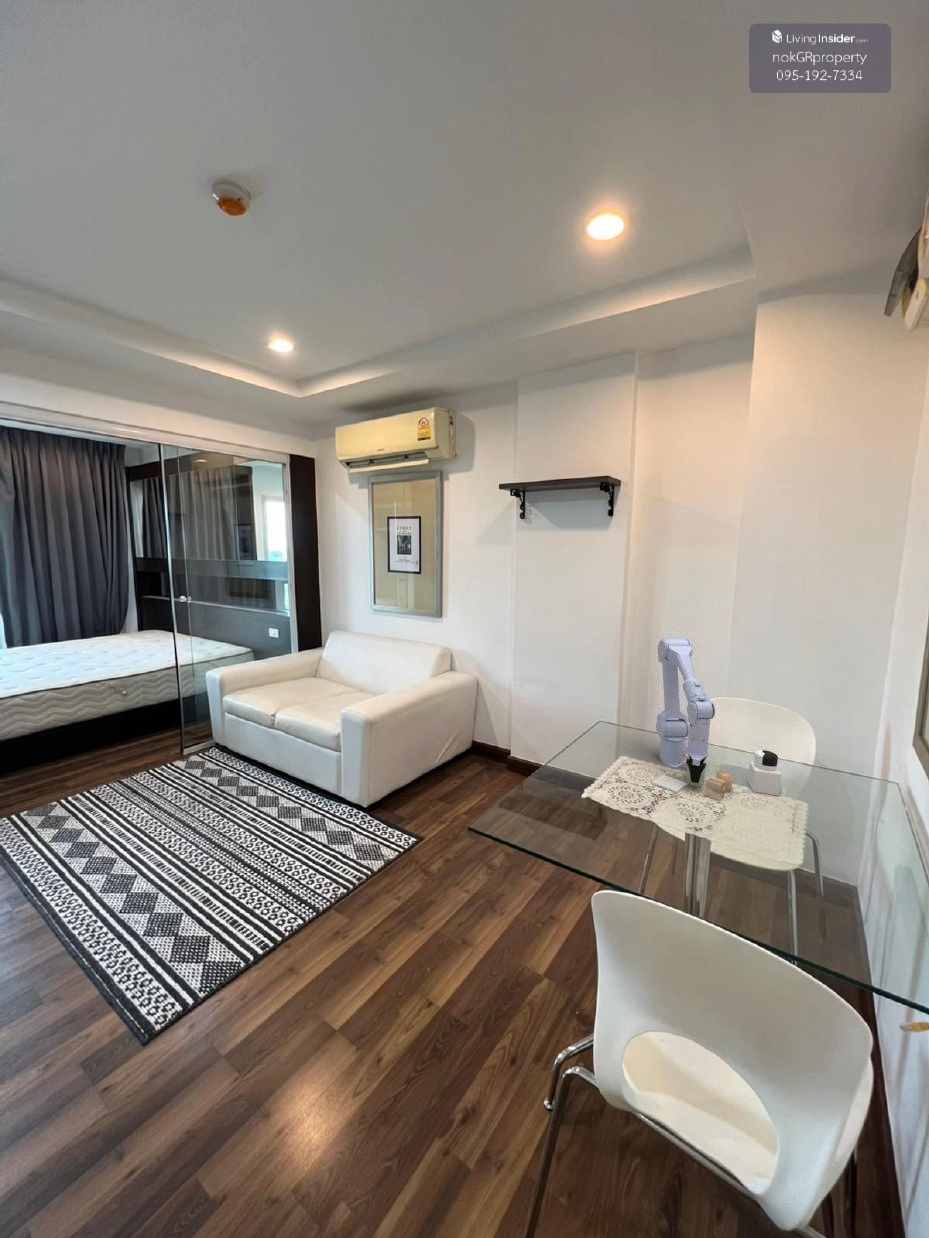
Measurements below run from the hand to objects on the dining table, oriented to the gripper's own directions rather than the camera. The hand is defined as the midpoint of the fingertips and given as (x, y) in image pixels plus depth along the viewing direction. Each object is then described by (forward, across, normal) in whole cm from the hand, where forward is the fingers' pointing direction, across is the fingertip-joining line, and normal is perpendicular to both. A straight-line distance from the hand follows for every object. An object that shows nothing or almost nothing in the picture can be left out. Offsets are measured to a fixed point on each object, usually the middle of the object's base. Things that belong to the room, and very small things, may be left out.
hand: (695, 778), depth 154 cm
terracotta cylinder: (+2, 0, +8) cm, 8 cm away
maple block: (+2, +6, +6) cm, 9 cm away
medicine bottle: (+2, -6, +19) cm, 20 cm away
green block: (+2, 0, 0) cm, 2 cm away
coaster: (+2, +5, -7) cm, 9 cm away
